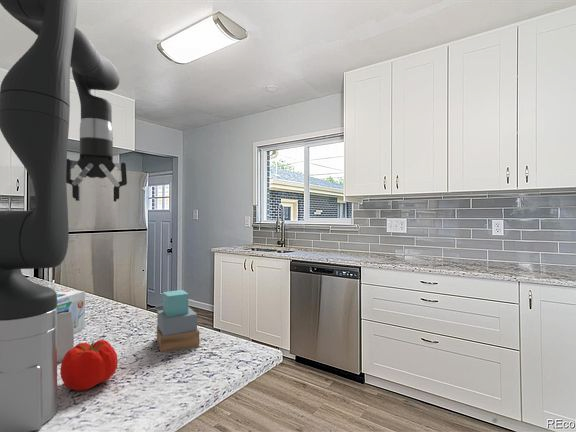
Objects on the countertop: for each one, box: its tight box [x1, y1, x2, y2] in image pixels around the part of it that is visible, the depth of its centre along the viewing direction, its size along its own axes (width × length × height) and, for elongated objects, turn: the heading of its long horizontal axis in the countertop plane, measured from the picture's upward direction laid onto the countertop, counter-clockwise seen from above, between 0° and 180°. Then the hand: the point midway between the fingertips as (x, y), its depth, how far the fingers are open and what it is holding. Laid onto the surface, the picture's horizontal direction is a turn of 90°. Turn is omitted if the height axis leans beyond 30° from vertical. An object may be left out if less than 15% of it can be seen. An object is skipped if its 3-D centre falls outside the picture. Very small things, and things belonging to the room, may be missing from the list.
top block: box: [156, 306, 198, 336], centre depth 85 cm, size 8×8×4 cm
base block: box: [156, 326, 200, 353], centre depth 85 cm, size 9×9×4 cm
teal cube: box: [162, 289, 189, 317], centre depth 85 cm, size 5×5×5 cm
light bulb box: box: [56, 289, 86, 334], centre depth 91 cm, size 11×7×11 cm, turn 168°
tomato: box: [59, 339, 119, 391], centre depth 65 cm, size 9×9×8 cm
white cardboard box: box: [57, 312, 75, 362], centre depth 75 cm, size 4×7×10 cm, turn 137°
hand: (96, 201), depth 88 cm, fingers open, 8 cm apart
